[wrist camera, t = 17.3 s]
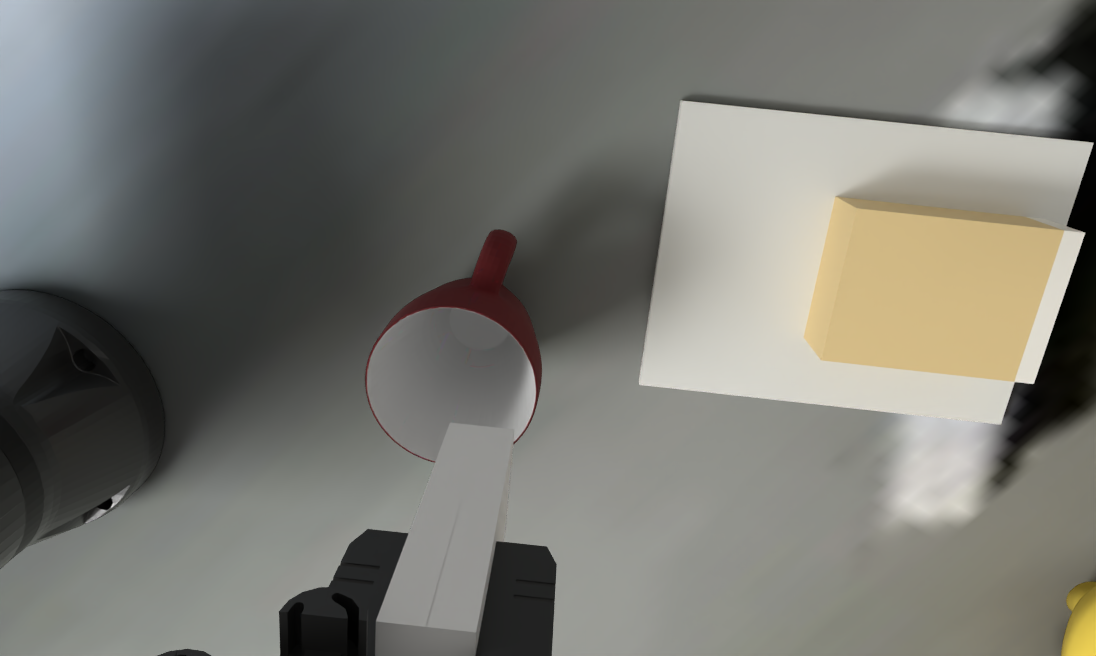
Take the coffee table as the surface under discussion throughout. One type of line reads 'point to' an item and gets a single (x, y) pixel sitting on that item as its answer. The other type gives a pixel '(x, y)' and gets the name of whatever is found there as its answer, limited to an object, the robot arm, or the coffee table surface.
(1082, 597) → the teapot
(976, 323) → the slab
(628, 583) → the coffee table surface
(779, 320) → the mat
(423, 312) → the mug
